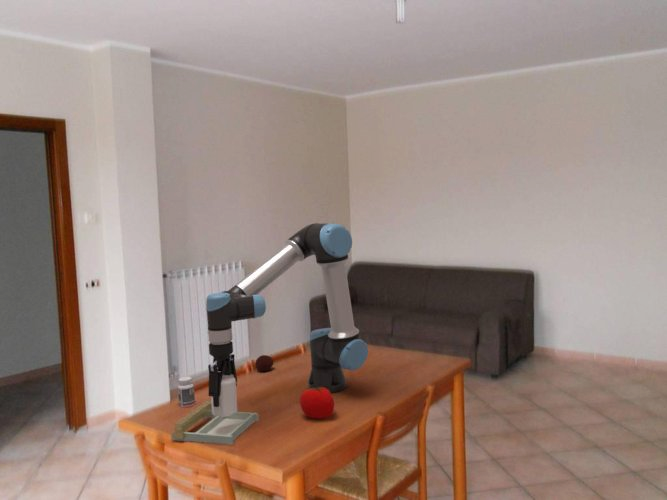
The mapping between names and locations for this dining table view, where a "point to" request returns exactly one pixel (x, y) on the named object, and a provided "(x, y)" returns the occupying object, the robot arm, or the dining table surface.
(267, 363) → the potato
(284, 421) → the dining table surface
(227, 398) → the grey cylindrical container
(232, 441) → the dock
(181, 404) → the pill bottle
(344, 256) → the robot arm
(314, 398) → the tomato
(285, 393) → the dining table surface
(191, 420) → the bar
